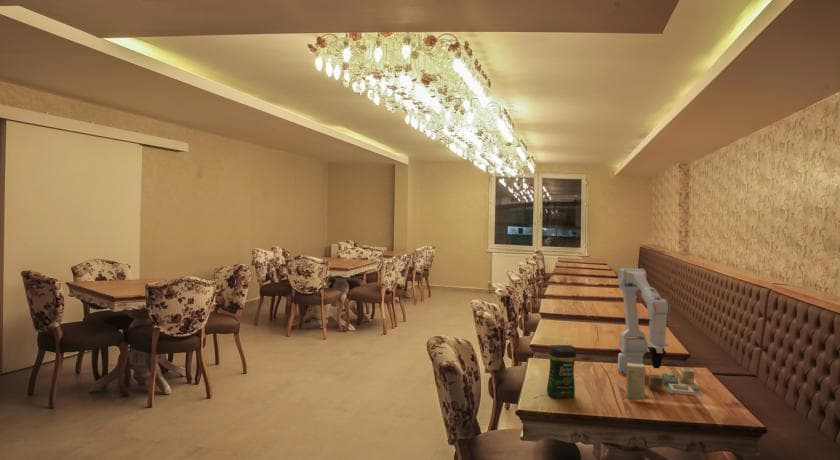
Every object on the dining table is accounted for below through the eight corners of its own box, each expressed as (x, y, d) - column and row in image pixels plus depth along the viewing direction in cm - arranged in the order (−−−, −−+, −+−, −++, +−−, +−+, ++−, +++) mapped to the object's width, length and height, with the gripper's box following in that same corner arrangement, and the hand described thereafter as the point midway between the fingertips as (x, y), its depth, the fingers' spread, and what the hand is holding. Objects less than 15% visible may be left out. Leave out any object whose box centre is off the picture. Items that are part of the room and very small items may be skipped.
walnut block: (649, 393, 204) (650, 377, 204) (648, 389, 208) (649, 374, 208) (661, 394, 203) (662, 378, 203) (659, 391, 207) (660, 375, 206)
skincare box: (644, 397, 200) (645, 364, 199) (644, 401, 196) (646, 367, 195) (625, 394, 202) (626, 362, 201) (625, 398, 198) (626, 365, 197)
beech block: (682, 386, 209) (682, 370, 208) (680, 383, 213) (680, 367, 212) (693, 387, 208) (694, 371, 207) (691, 384, 212) (692, 368, 211)
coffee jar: (552, 399, 195) (553, 348, 194) (544, 392, 203) (545, 342, 202) (578, 398, 197) (579, 347, 196) (569, 391, 204) (570, 342, 204)
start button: (666, 382, 211) (667, 375, 211) (665, 379, 214) (665, 373, 214) (674, 382, 211) (674, 376, 210) (672, 380, 213) (673, 374, 213)
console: (663, 384, 210) (664, 376, 210) (661, 380, 215) (662, 373, 215) (677, 386, 209) (678, 378, 209) (675, 381, 214) (675, 374, 214)
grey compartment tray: (667, 395, 201) (668, 389, 201) (661, 383, 216) (661, 377, 216) (703, 399, 198) (704, 393, 198) (694, 386, 213) (695, 380, 213)
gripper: (672, 336, 196) (670, 374, 197) (665, 328, 210) (664, 363, 211) (651, 335, 198) (649, 372, 199) (646, 326, 212) (644, 361, 213)
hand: (655, 367), depth 205 cm, fingers closed
